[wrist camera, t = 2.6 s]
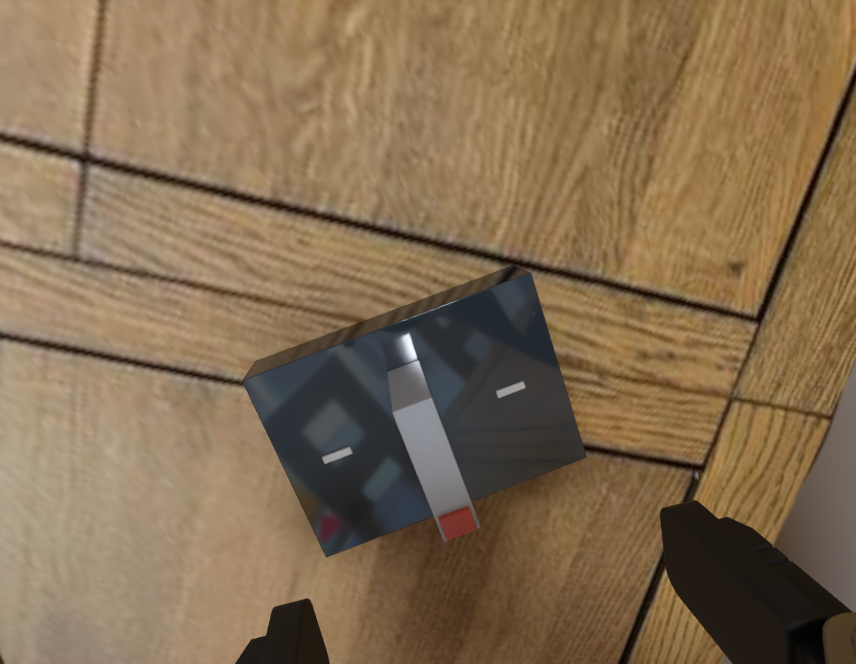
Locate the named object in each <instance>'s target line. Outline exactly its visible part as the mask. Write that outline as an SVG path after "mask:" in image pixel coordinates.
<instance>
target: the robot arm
mask: <svg viewBox="0 0 856 664" xmlns="http://www.w3.org/2000/svg"><path fill="white" fill-rule="evenodd" d="M660 521H661V530H662V539H663V549H664V558H665V566H666V571H667V574H668V577H669V580H670V582H671V584H672V586H673V588H674V590H675V592H676V593H677V595H678V596H679V597H680V599H681V600H682V601H683V602H684V604H685V605H686V606H687V607H688V609H689V610H690V611H691V612H692V614H693V615H694V616H695V617H696V619H697V620H698V621H699V622H700V624H701V625H702V626H703V627H704V629H705V630H706V631H707V632H708V634H709V635H710V636H711V637H712V639H713V640H714V641H715V642H716V644H717V645H718V646H719V647H720V649H721V650H722V651H723V652H724V654H725V655H726V656H727V657H728V659H729V660H730V661H731V662H732V663H733V664H856V613H853V612H852V611H851V610H850V609H848V608H847V607H846V606H845V605H844V604H842V603H841V602H840V601H839V600H838V599H837V598H835V597H834V596H833V595H832V594H831V593H829V592H828V591H827V590H826V589H825V588H823V587H822V586H821V585H820V584H819V583H817V582H816V581H815V580H814V579H813V578H811V577H810V576H809V575H808V574H806V573H805V572H804V571H803V570H802V569H801V568H799V567H798V566H797V565H796V564H795V563H793V562H792V561H791V562H790V561H789V560H788V558H787V557H786V556H785V555H784V554H782V553H781V552H780V551H779V550H778V549H777V548H773V546H772V544H771V543H770V542H768V541H767V540H766V539H765V538H764V537H762V536H761V535H760V534H759V533H758V532H756V531H755V530H754V529H753V528H751V527H748V526H746V525H744V524H742V523H740V522H737V521H735V520H733V519H731V518H729V517H725V518H721V519H718V518H716V517H715V516H714V515H713V514H712V513H711V512H710V511H709V510H707V509H706V508H705V507H704V506H703V505H702V504H701V503H699V502H698V501H695V500H692V501H688V502H685V503H681V504H677V505H673V506H669V507H665V508H662V509H661V512H660ZM235 664H330V663H329V658H328V654H327V650H326V647H325V644H324V641H323V638H322V634H321V631H320V628H319V625H318V621H317V618H316V615H315V612H314V609H313V606H312V603H311V601H310V600H309V599H308V598H307V599H303V600H299V601H295V602H291V603H288V604H284V605H280V606H276V607H274V608H273V610H272V613H271V617H270V621H269V625H268V630H267V634H266V636H263V637H259V638H256V639H252V640H251V641H250V642H249V644H248V645H247V647H246V648H245V650H244V651H243V653H242V654H241V656H240V657H239V659H238V660H237V661H236V663H235Z"/></svg>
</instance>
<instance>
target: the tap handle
mask: <svg viewBox="0 0 856 664" xmlns="http://www.w3.org/2000/svg"><path fill="white" fill-rule="evenodd" d="M387 377H388V385H389V392H390V400H391V407H392V414H393V416H394V419H395V421H396V424H397V426H398V429H399V431H400V434H401V436H402V439H403V441H404V444H405V446H406V449H407V451H408V454H409V456H410V459H411V461H412V464H413V466H414V469H415V471H416V474H417V476H418V479H419V481H420V484H421V486H422V489H423V491H424V494H425V496H426V498H427V501H428V503H429V506H430V508H431V511H432V513H433V516H434V518H435V521H436V523H437V526H438V528H439V531H440V533H441V536H442V538H443V541H444V542H446V541H449V540H451V539H454V538H456V537H459V536H462V535H464V534H467V533H469V532H472V531H475V530H477V529H480V528H481V526H480V523H479V520H478V517H477V515H476V512H475V509H474V506H473V504H472V501H471V498H470V495H469V492H468V490H467V487H466V484H465V481H464V479H463V476H462V473H461V470H460V468H459V465H458V462H457V460H456V457H455V454H454V452H453V449H452V446H451V444H450V441H449V438H448V436H447V433H446V430H445V428H444V425H443V422H442V420H441V417H440V414H439V412H438V409H437V406H436V404H435V401H434V398H433V396H432V393H431V390H430V388H429V385H428V382H427V380H426V377H425V374H424V372H423V369H422V366H421V364H420V361H419V360H418V361H415V362H412V363H410V364H407V365H404V366H402V367H399V368H396V369H394V370H391V371H388V372H387Z"/></svg>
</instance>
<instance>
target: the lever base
mask: <svg viewBox="0 0 856 664" xmlns="http://www.w3.org/2000/svg"><path fill="white" fill-rule="evenodd" d="M418 360H419V361H420V364H421V366H422V369H423V372H424V374H425V377H426V380H427V382H428V385H429V388H430V390H431V393H432V396H433V398H434V401H435V404H436V406H437V409H438V412H439V414H440V417H441V420H442V422H443V425H444V428H445V430H446V433H447V436H448V438H449V441H450V444H451V446H452V449H453V452H454V454H455V457H456V460H457V462H458V465H459V468H460V470H461V473H462V476H463V479H464V481H465V484H466V487H467V490H468V492H469V495H470V498H471V501H475V500H477V499H480V498H482V497H485V496H488V495H490V494H493V493H495V492H498V491H501V490H503V489H506V488H508V487H511V486H514V485H516V484H519V483H521V482H524V481H527V480H529V479H532V478H534V477H537V476H540V475H542V474H545V473H547V472H550V471H553V470H555V469H558V468H560V467H563V466H566V465H568V464H571V463H573V462H576V461H579V460H581V459H584V458H586V453H585V450H584V447H583V444H582V440H581V437H580V434H579V430H578V427H577V424H576V420H575V417H574V414H573V410H572V407H571V404H570V400H569V397H568V394H567V390H566V387H565V384H564V380H563V377H562V374H561V371H560V367H559V364H558V361H557V357H556V354H555V351H554V347H553V344H552V341H551V337H550V334H549V331H548V327H547V324H546V321H545V317H544V314H543V311H542V307H541V304H540V301H539V297H538V294H537V291H536V288H535V284H534V281H533V278H532V274H531V273H530V272H528V271H525V270H523V269H521V268H518V267H516V266H510V267H508V268H505V269H502V270H499V271H497V272H494V273H491V274H489V275H486V276H483V277H481V278H478V279H475V280H473V281H470V282H467V283H465V284H462V285H459V286H456V287H454V288H451V289H448V290H446V291H443V292H440V293H438V294H435V295H432V296H430V297H427V298H424V299H422V300H419V301H416V302H413V303H411V304H408V305H405V306H403V307H400V308H397V309H395V310H392V311H389V312H387V313H384V314H381V315H379V316H376V317H373V318H370V319H368V320H365V321H362V322H360V323H357V324H354V325H352V326H349V327H346V328H344V329H341V330H338V331H336V332H333V333H330V334H327V335H325V336H322V337H319V338H317V339H314V340H311V341H309V342H306V343H303V344H301V345H298V346H295V347H292V348H290V349H287V350H284V351H282V352H279V353H276V354H274V355H271V356H268V357H266V358H263V359H260V360H258V361H255V362H254V364H253V365H252V367H251V368H250V369H249V371H248V372H247V374H246V375H245V377H244V378H243V380H242V382H243V384H244V386H245V388H246V390H247V392H248V395H249V397H250V399H251V401H252V403H253V405H254V407H255V409H256V411H257V413H258V416H259V418H260V420H261V422H262V424H263V426H264V428H265V430H266V432H267V434H268V437H269V439H270V441H271V443H272V445H273V447H274V449H275V451H276V453H277V455H278V457H279V460H280V462H281V464H282V466H283V468H284V470H285V472H286V474H287V476H288V478H289V481H290V483H291V485H292V487H293V489H294V491H295V493H296V495H297V497H298V499H299V502H300V504H301V506H302V508H303V510H304V512H305V514H306V516H307V518H308V520H309V523H310V525H311V527H312V529H313V531H314V533H315V535H316V537H317V539H318V541H319V543H320V546H321V548H322V550H323V552H324V554H325V556H326V557H329V556H331V555H334V554H337V553H339V552H342V551H344V550H347V549H350V548H352V547H355V546H357V545H360V544H363V543H365V542H368V541H370V540H373V539H376V538H378V537H381V536H383V535H386V534H389V533H391V532H394V531H396V530H399V529H402V528H404V527H407V526H409V525H412V524H415V523H417V522H420V521H422V520H425V519H428V518H430V517H433V513H432V511H431V508H430V506H429V503H428V501H427V498H426V496H425V494H424V491H423V489H422V486H421V484H420V481H419V479H418V476H417V474H416V471H415V469H414V466H413V464H412V461H411V459H410V456H409V454H408V451H407V449H406V446H405V444H404V441H403V439H402V436H401V434H400V431H399V429H398V426H397V424H396V421H395V419H394V416H393V414H392V407H391V400H390V392H389V385H388V377H387V372H388V371H391V370H394V369H396V368H399V367H402V366H404V365H407V364H410V363H412V362H415V361H418Z"/></svg>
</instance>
